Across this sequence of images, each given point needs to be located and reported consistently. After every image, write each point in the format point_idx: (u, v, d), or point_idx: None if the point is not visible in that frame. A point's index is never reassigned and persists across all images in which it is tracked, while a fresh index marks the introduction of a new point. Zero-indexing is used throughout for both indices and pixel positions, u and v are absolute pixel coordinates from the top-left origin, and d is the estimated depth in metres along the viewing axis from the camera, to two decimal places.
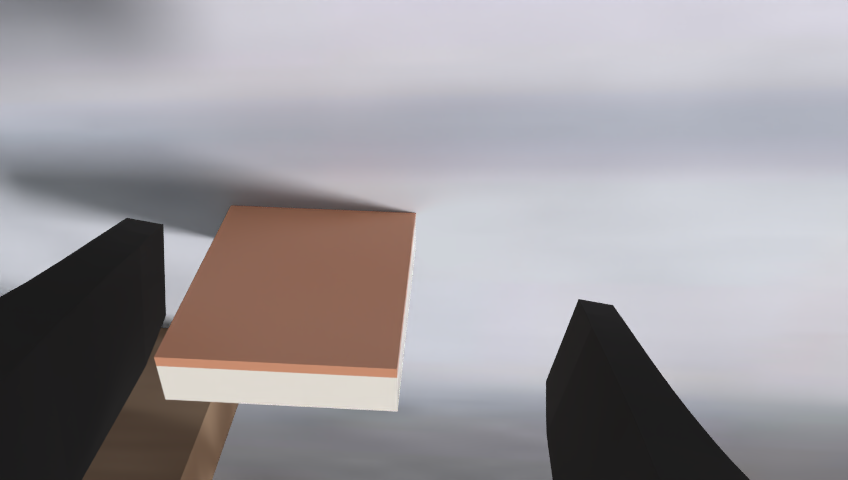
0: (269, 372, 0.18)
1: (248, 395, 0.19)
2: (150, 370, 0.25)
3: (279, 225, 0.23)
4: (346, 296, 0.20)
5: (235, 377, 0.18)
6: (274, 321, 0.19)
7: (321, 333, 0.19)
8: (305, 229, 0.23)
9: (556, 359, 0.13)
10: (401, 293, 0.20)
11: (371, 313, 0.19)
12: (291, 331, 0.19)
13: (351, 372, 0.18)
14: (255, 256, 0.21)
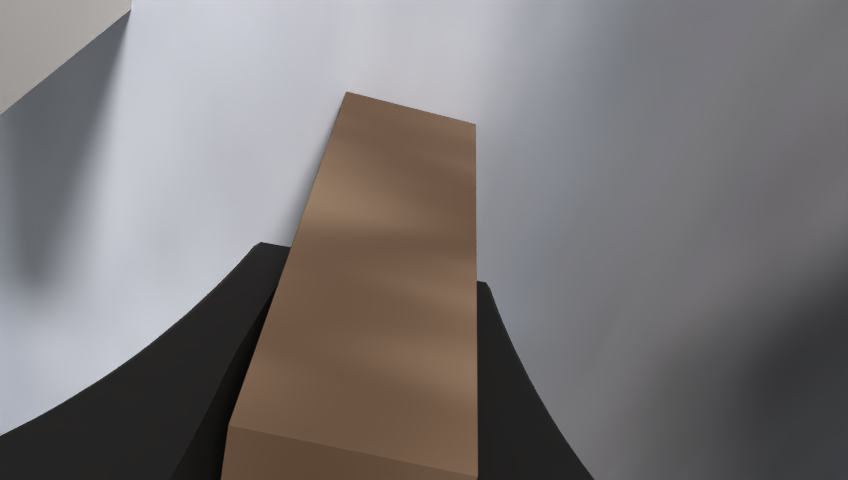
0: None
1: None
2: None
3: None
4: None
5: None
6: None
7: None
8: None
9: None
10: None
11: None
12: None
13: None
14: None
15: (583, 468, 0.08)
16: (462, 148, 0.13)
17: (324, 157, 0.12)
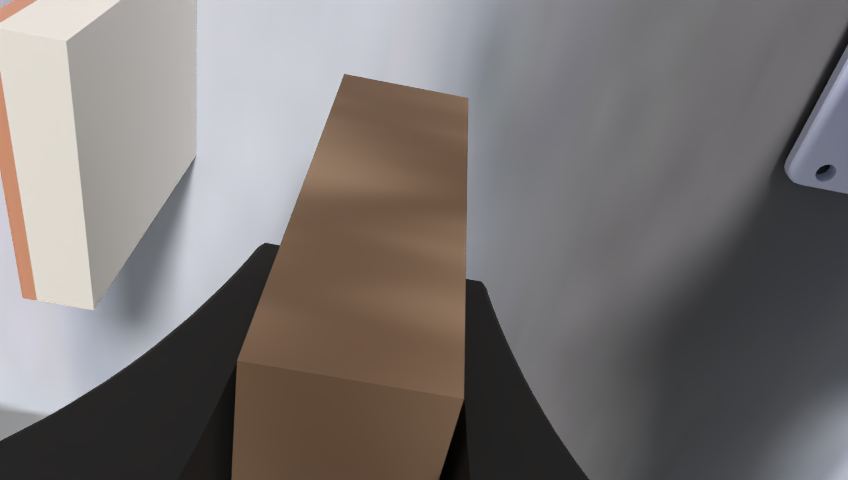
0: (20, 188, 0.14)
1: (68, 222, 0.14)
2: None
3: None
4: None
5: (38, 228, 0.14)
6: None
7: None
8: None
9: None
10: None
11: None
12: None
13: (5, 87, 0.13)
14: None
15: (577, 467, 0.08)
16: (456, 119, 0.14)
17: (323, 132, 0.12)
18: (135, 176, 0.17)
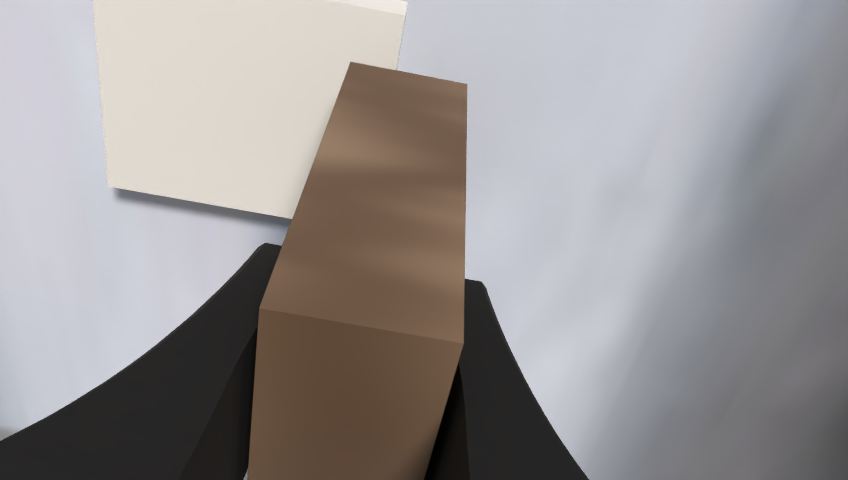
0: None
1: (107, 105, 0.18)
2: None
3: None
4: None
5: None
6: None
7: None
8: None
9: None
10: None
11: None
12: None
13: None
14: None
15: (577, 467, 0.08)
16: (455, 103, 0.15)
17: (332, 114, 0.13)
18: (204, 141, 0.18)
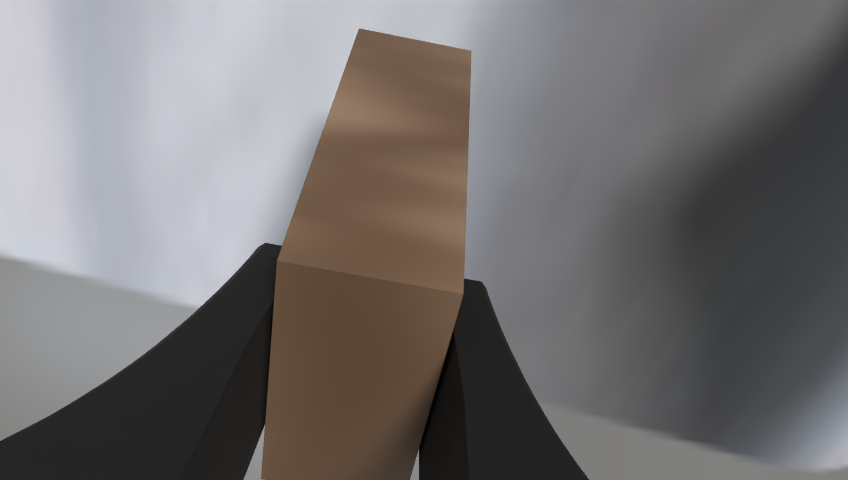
0: None
1: None
2: None
3: None
4: None
5: None
6: None
7: None
8: None
9: None
10: None
11: None
12: None
13: None
14: None
15: (577, 467, 0.08)
16: (459, 69, 0.15)
17: (342, 80, 0.14)
18: None
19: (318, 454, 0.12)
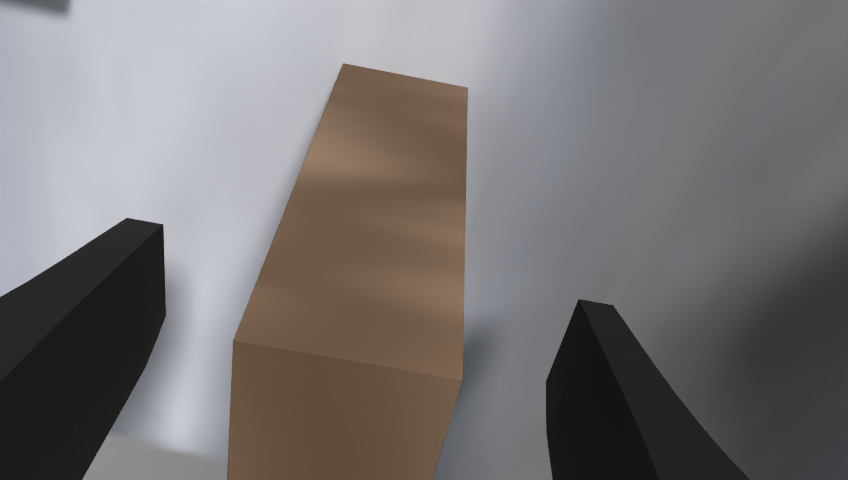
0: None
1: None
2: None
3: None
4: None
5: None
6: None
7: None
8: None
9: (556, 359, 0.13)
10: None
11: None
12: None
13: None
14: None
15: None
16: (455, 108, 0.14)
17: (322, 120, 0.12)
18: None
19: None
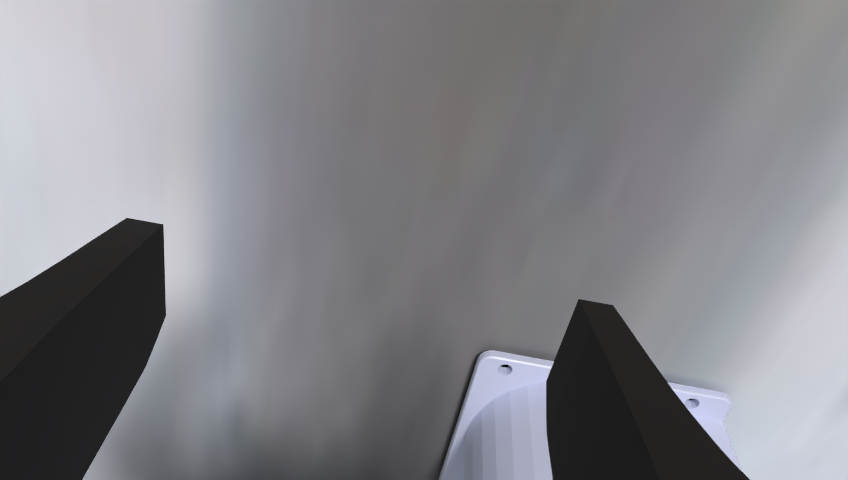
0: None
1: None
2: None
3: None
4: None
5: None
6: None
7: None
8: None
9: (556, 359, 0.13)
10: None
11: None
12: None
13: None
14: None
15: None
16: None
17: None
18: None
19: None
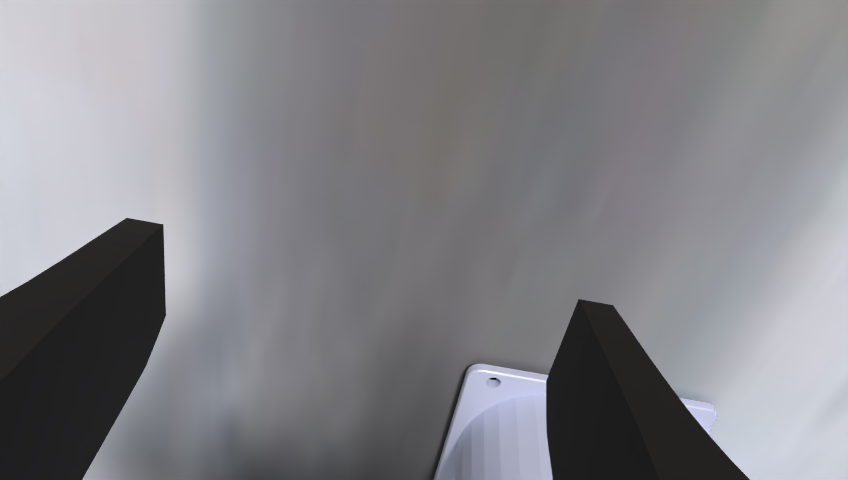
0: None
1: None
2: None
3: None
4: None
5: None
6: None
7: None
8: None
9: (556, 359, 0.13)
10: None
11: None
12: None
13: None
14: None
15: None
16: None
17: None
18: None
19: None
